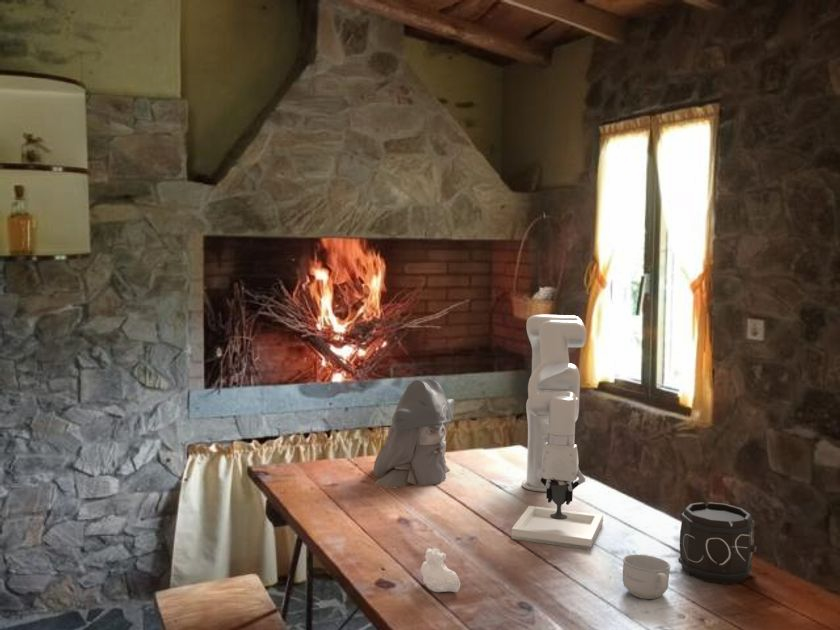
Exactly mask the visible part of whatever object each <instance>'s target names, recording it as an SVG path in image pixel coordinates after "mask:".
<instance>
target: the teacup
mask: <svg viewBox="0 0 840 630" xmlns="http://www.w3.org/2000/svg"><path fill="white" fill-rule="evenodd" d="M622 560H623V563H622V583H623V587H625V589H626V590H627V591H629V593H630V594H631V595H632V596H635V597H637V598H640V599H646V600H654V599H657V598H659V597H660V596H663V595H664V594H665V593H666V592H667V590H668V588H669V580H670V570H671V564H670V563H669V562H668V561H666V560H665V559H662V558H659V557H656V556H652V555H648V554H630V555H629V554H628V555H625V556H624V557H623V558H622Z"/></svg>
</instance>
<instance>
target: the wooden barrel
mask: <svg viewBox="0 0 840 630" xmlns="http://www.w3.org/2000/svg"><path fill="white" fill-rule="evenodd" d="M679 518H680V519H681V524H680V532H679V556H678V563H679V564H680V565H681V568H682V570H683V571H684V572H685V573H686V574H687V575H688V576H689V577H691V578H694V579H697V580H699V581H703V582H706V583H710V584H719V585H728V586H729V585H732V584H733V585H734V584H739V583H744V582H745V581H746V579H747V578H748V577H749V575H750V574H751V572H752V570H753V569H754V566H753V564H752V561H753V556H754V553H755V554H756V552H757V548H758V547H757V546H758V545H755V536H754V535H755V533H754V528H755V525H756V523H755V520H754V519H753V518H752V515H751V514H750V513H749V512H748V511H747V510H745V509H743V507H738V506H735V505H730V504H727V503H722V502H721V503H719V502H709V501H708V502H707V503H705V502H695V503H690V504H689V505H687V506H686V508H685V509H684V511H683V512H682V514H681V515H680V517H679Z"/></svg>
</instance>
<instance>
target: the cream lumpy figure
mask: <svg viewBox="0 0 840 630" xmlns="http://www.w3.org/2000/svg"><path fill="white" fill-rule="evenodd" d="M424 557H425V561H423V562H422V564H421V566H420V567H421V568H420V569H419V571H420V573H421V574H422V578H423V581H422V582H423V583H424V584H425V586H426V588H427V589H428V590H430V591H432V592H434V593H443V592H444V593H445V592H450V593H451V592H452V593H457V592H458V591H459V590H460V587H461V580H460V578H459V577H458V574H457V573H456V572H455V571H453V570H451V569H450V568H448V566H447V565H446V564H445V563H444V561H445V559H446V558H447V554H446V553H444V552H440V549H439V548H435V547H433V548H430V547H428V548H427V549H426V551H425V555H424Z"/></svg>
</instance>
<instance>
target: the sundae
mask: <svg viewBox="0 0 840 630" xmlns="http://www.w3.org/2000/svg"><path fill="white" fill-rule="evenodd" d="M553 479H554V477H553ZM550 481H551V482H550V483H549V482H548V483H549V484H550V486H551V495H552V502H553V503H554V504H556V509H557V511H556V513H555V514H551V515H550V517H551V518H553V519H559V520H562V519H566V518H567V516H566V515H564V514H562V512H561V510H562V505H564V504H566V491H568V486H570V485H567V481H558V480H555V479H554V480H550Z"/></svg>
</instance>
